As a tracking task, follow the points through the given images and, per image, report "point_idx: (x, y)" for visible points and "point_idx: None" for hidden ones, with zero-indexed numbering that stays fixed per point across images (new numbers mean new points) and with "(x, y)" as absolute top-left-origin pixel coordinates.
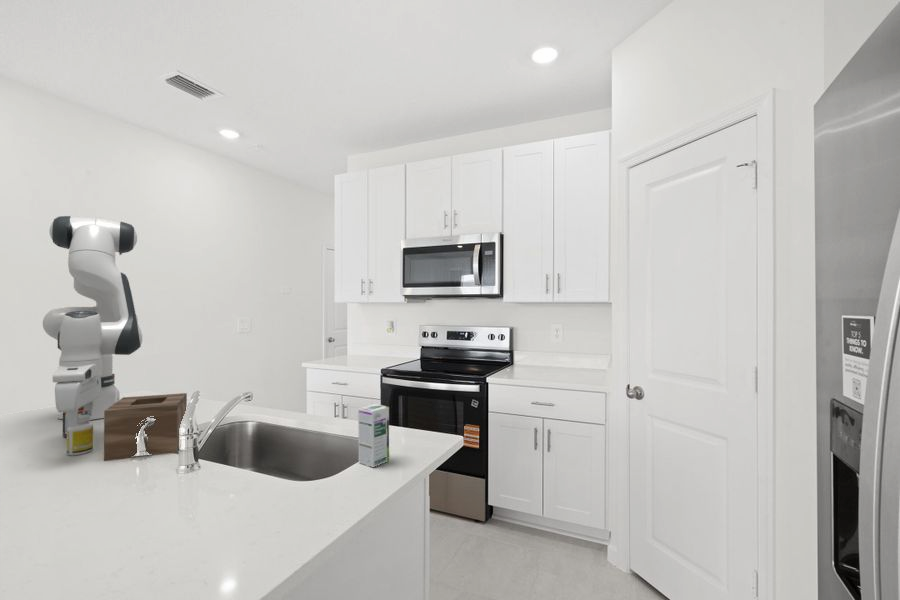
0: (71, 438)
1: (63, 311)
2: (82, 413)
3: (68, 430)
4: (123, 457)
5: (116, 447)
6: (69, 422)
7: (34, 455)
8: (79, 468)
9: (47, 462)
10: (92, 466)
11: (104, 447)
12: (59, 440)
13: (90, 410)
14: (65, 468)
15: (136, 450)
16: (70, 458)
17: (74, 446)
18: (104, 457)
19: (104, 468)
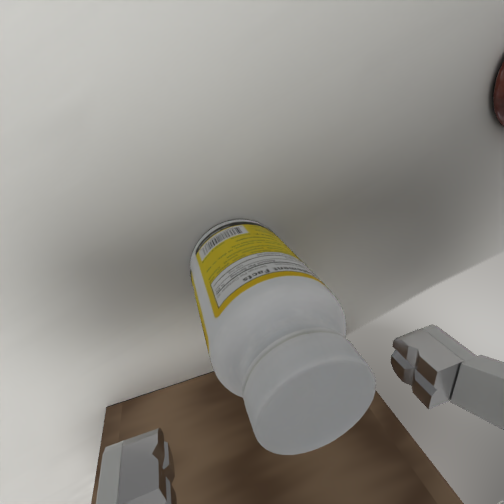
0: (203, 305)
1: None
2: (425, 358)
3: (224, 317)
4: None
5: None
6: (100, 489)
7: (242, 46)
8: (14, 386)
9: (104, 203)
10: (41, 411)
11: (97, 465)
12: (476, 37)
13: (449, 396)
14: (11, 337)
15: None
16: (155, 272)
17: (195, 292)
18: (104, 421)
19: (18, 456)
